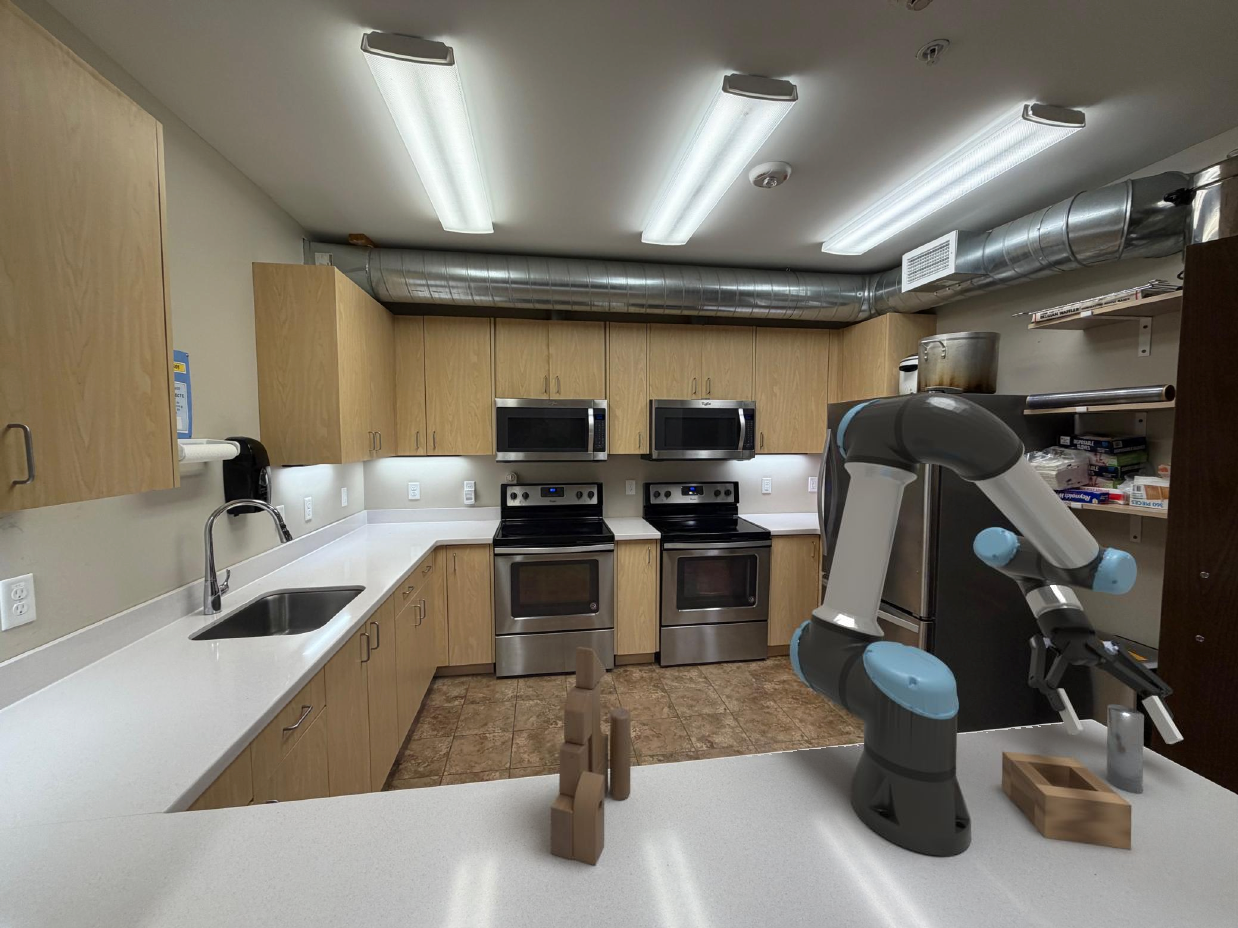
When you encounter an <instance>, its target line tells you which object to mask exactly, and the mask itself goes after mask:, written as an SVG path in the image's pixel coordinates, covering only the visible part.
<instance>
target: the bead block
mask: <svg viewBox="0 0 1238 928" xmlns="http://www.w3.org/2000/svg"><path fill="white" fill-rule="evenodd" d="M1001 754H1002V757H1001V759H1002V760H1001V761H1002V762H1001V763H1002V764H1001V789H1002V791H1003V792H1004V793H1005V794H1006V795H1007V796H1008V798H1010V800H1011V801H1012V802H1013V803H1014V804H1015V805H1016V806H1017V808H1018V809H1019V810H1020V811H1021V812H1022V813H1023V814H1024V816H1026V818H1027V819H1028V820H1029V821H1030V822H1031V824H1032V825H1033V826H1034V827H1035V828H1036V829H1037V831H1039V833H1040V834H1041V835H1042V836H1043V837H1044V838H1045V839H1051V840H1052V839H1053V840H1060V841H1065V842H1066V841H1067V842H1073V843H1074V842H1075V843H1082V844H1088V845H1098V846H1103V847H1110V848H1111V847H1112V848H1116V849H1117V848H1118V849H1123V850H1124V849H1125V850H1131V849H1132V810H1133V809H1132V804H1131V803H1130V802H1128V801H1127V800H1126V799H1125V798H1123V797H1122V796H1121V795H1120V794H1119V793H1118V792H1116V791H1115V790H1114V789H1113V788H1111V786H1109V785H1108V784H1107V783H1105V782H1104V781H1103V780H1102V779H1100V778H1099V777H1098V776H1097V775H1096V774H1095V773H1093V772H1092V771H1091V770H1090V769H1088V768H1087V767H1086V766H1085V765H1083V763H1082V762H1080V761H1078V760H1077V759H1076V758H1069V757H1061V756H1060V757H1058V756H1050V755H1040V754H1032V753H1023V752H1014V751H1013V752H1012V751H1002V753H1001Z"/></svg>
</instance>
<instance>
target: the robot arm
mask: <svg viewBox="0 0 1238 928" xmlns="http://www.w3.org/2000/svg"><path fill="white" fill-rule="evenodd" d="M836 442H837V443H836V444H837V446H839V447H840V448H839V452H840V454H841V455H842V457H843V458H844V459H845V461H844V469H845V470H847V472H848V474H849V475H850V481H849V485H848V489H847V494H846V499H845V503H844V504H845V505H844V508H843V513H842V516H841V517H842V518H841V522H840V526H839V530H838V536H837V540H836V544H835V549H834V553H833V554H834V555H833V558H832V564H831V566H830V567H831V568H830V573H829V576H828V577H829V578H828V582H827V586H826V591H825V595H824V600H823V604H822V605H821V606H819V607H816V608H815V609H813V610H812V612H811V616H810V619H809V620H806V621H804V622H802V623H801V624H800V627H798V628H796V629H795V630H794V633H793V635H792V637H791V639H790V646H789V658H790V663H791V665H792V668H793V671H794V672H795V674H796V676H797V677H798V678H799V679H800V680H801V682H803V683H804V684H805V685H807V687H809V688H810V689H811V690H812V691H813V692H815V693H816V694H818V695H820V696H823V697H824V698H825V699H827V700H829V701H830V702H832V703H833V704H835V705H837V706H838V707H840V709H842V710H844V711H846V712H847V713H849V714H850V715H852V716H853V717H855V718H856V719H858V720H859V721H861V722H862V723H863V750H862V753H861V755H860V757H859V760H858V762H857V765H856V767H855V769H854V771H853V774H852V777H851V781H850V801H851V805H852V807H853V809H854V812H855V813H856V814H857V816H858V817H859V818H860V819H861V820H862V821H863V823H864V824H866V825H867V826H868V827H869V828H870V829H871V830H873V831H874V832H875V833H877V834H878V835H879V836H880V837H883V838H884V839H886V840H888V841H889V842H892V843H894V845H898V846H899V847H902V848H904V849H907V850H911V851H913V852H917V853H921V854H926V855H932V856H941V857H944V856H953V855H957V854H960V853H961V852H964V851H966V850H967V848H969V845H970V844H971V842H972V819H971V815H970V812H969V809H968V806H967V804H966V800H965V798H964V795H963V792H962V788H961V785H960V783H959V780H958V777H957V752H958V751H957V746H958V743H957V742H958V740H957V739H958V735H957V734H958V712H959V709H960V708H959V705H960V703H959V699H958V693H957V682H956V679H955V676H954V674H953V672H952V670H951V669H950V668H949V667H948V665H947V664H945V663H944V662H943V661H942V660H940V659H939V658H937V657H936V656H934V655H933V654H931V653H930V652H927V651H925V650H922V649H920V648H918V647H915V646H912V645H909V646H908V645H905V644H903V643H902V642H901V643H900V642H896V641H895V642H894V641H889V640H888V641H883V640H884V636H885V632H884V631H883V630H882V628H881V626H880V625H879V624H878V621H877V618H878V614H879V610H880V606H881V601H882V600H881V599H882V595H883V590H884V585H885V580H886V575H887V572H888V566H889V562H890V557H891V553H892V547H893V543H894V537H895V533H896V528H897V525H898V519H899V513H900V509H901V505H902V501H903V500H902V499H903V495H904V490H905V487H907V485H908V484H910V483H912V482H913V481H915V480H916V479H917V478H918V472H919V469H920V465H930V464H933V465H939V466H943V467H945V468H949V469H950V470H953V472H954V473H956V474H957V475H958V477H960V478H961V479H963V480H965V481H967V482H973V483H974V484H976V486H977V487H978V488H979V489H980V491H982V492H983V493H984V494H985V495H986V497H987V498H988V499H990V501H991V502H992V503H993V504H994V505H995V506H996V507H997V508H998V509H999V510H1000V511H1001V513H1002V514H1003V515H1004V516H1005V517H1006V518H1007V519H1008V520H1009V521H1010V523H1011V524H1012V525H1014V527H1015V528H1016V529H1017V530H1018V531H1019V532H1020V533H1021V534H1022V536H1019V535H1016V534H1015V533H1014V532H1013V531H1010V530H1007V529H1004V528H1002V527H999V526H998V527H987V528H985V529H984V530H981V532H979V533H978V534H977V536H975V539H974V541H973V545H972V546H973V552H974V554H975V555H976V557H977V558H979V559H980V560H981V561H983V562H984V563H985V564H986V565H987V566H989V567H992V568H993V569H995V570H996V571H999V572H1000V573H1002V574H1004V575H1006V576H1007V577H1009V578H1011V579H1013V580H1014V581H1015V582H1016V583H1017V584H1018V586H1019V588H1020V590H1021V591H1022V594H1023V596H1024V598H1025V599H1026V602H1027V604H1028V605H1029V608H1030V609H1031V612H1032V613H1033V617H1034V618H1036V622H1037V625H1038V626H1039V628H1040V630H1041V632H1042V634H1043V636H1042V635H1041V634H1040V633H1037V634H1034V636H1033V637H1031V638H1030V639H1029V640H1028V643H1029V645H1030V649H1031V658H1030V665H1029V666H1030V667H1029V673H1028V682H1027V683H1028V685H1029V687H1031V688H1032V689H1033V688H1034V689H1039V692H1040V693H1041V694H1043V695H1045V696H1046V698H1047V700H1048V702H1049V703H1050V706H1051V708H1052V709H1053V710H1054V712H1058V713H1059V715H1060V717H1061V719H1062V721H1063V724H1064V726H1065V728H1066V729H1067V732H1068V735H1073V736H1074V735H1077V734H1079V733H1081V732H1083V731H1084V728H1083V726H1082V724H1081V722H1080V720H1079V717H1078V716H1077V713H1076V712H1075V709H1074V708H1073V705H1072V703H1071V701H1070V699H1069V697H1068V695H1067V693H1066V691H1065V689H1064V688H1058V687H1057V686H1058V685H1059V683H1060V681H1061V679H1062V677H1063V675H1064V673H1065V671H1066V668H1067V667H1068V665H1069V663H1070V664H1071V665H1074V666H1079V665H1080V666H1081V665H1083V666H1085V667H1086V666H1087V667H1093V666H1094V667H1096V668H1098V669H1099V670H1102V671H1105V672H1107V673H1108V674H1109V675H1111V676H1112V677H1114V678H1115V679H1116V680H1118V681H1119V682H1121V683H1122V684H1124V685H1125V686H1127V687H1128V688H1130V689H1131V690H1133V691H1134V692H1135V693H1137V694H1138V695H1140V696H1141V697H1143V698H1144V699H1143V700H1141V702H1142V704H1143V707H1144V708H1145V710H1146V711H1147V712H1148V714H1149V716H1150V718H1151V720H1152V721H1153V723H1154V726H1156V728H1157V730H1158V731H1159V733H1160V735H1161V737H1162V738H1163V740H1164V742H1165V743H1166V744H1170V745H1174V744H1175V743H1177V742H1181V741H1183V740H1184V737H1183V736H1182V734H1181V733H1180V731H1179V729H1178V728H1177V726H1176V725H1175V723H1174V721H1173V720H1174V714H1173V712H1172V710H1171V709H1170V707H1169V706H1168V704H1167V703H1166V701H1165V699H1164V698H1165V697H1167V696H1169V695H1172V694H1173V693H1174V690H1173V689H1172V688H1171V687H1170V686H1169V685H1168V684H1167V683H1166V682H1164V680H1162V679H1161V678H1160V677H1159V676H1157V675H1156V674H1155V673H1154V672H1153V671H1152V670H1151V669H1149V668H1148V667H1147V666H1146V665H1145V664H1143V662H1141V661H1140V660H1139V659H1138V658H1137V657H1135V656H1134V655H1133V654H1132V653H1131V652H1129V651H1128V649H1127V648H1126V647H1125V645H1124V644H1123V642H1122V641H1121V639H1120V640H1119V639H1118V638H1114V639H1111V641H1102V640H1100V639H1099V637H1098V636H1097V635H1096V629H1095V627H1094V625H1093V623H1092V622H1091V620H1090V618H1089V616H1088V615H1087V613H1086V612H1085V611H1084V607H1083V605H1082V604H1081V602H1080V600H1079V599H1078V597H1077V595H1076V594H1075V592H1074V591H1073V589H1072V588H1071V587H1075V588H1079V589H1084V590H1090V591H1093V592H1096V593H1097V592H1101V593H1106V594H1111V595H1112V594H1113V595H1123V594H1126V593H1128V592H1129V591H1130V590H1131V589H1132V588H1133V587H1134V584H1135V583H1136V579H1137V575H1138V568H1137V563H1136V560H1135V558H1134V557H1133V556H1132V555H1131V554H1130V553H1128V552H1126V551H1124V550H1119V549H1115V548H1113V547H1108V548H1107V547H1102V546H1101V545H1100V543H1098V541H1097V540H1096V539H1095V538H1094V537H1093V536H1092V534H1091V533H1090V532H1089V531H1088V529H1087V528H1086V527H1085V526H1084V525H1083V524H1082V522H1081V521H1080V520H1079V519H1078V518H1077V516H1076V515H1075V514H1074V513H1073V512H1072V511H1071V510H1070V508H1069V507H1068V506H1067V505H1066V503H1065V502H1064V501H1063V500H1062V499H1061V498H1060V496H1059V495H1057V493H1056V492H1055V491H1054V490H1053V489H1052V487H1051V486H1050V485H1049V484H1048V482H1047V481H1046V480H1045V479H1044V478H1043V476H1041V474H1040V473H1039V472H1038V470H1037V469H1035V467H1034V466H1033V465H1032V463H1030V462H1029V460H1028V459H1027V458H1026V457H1025V456H1024V454H1025V446H1024V443H1023V441H1022V440H1021V439H1020V437H1018V435H1017V434H1016V432H1015V431H1014V430H1013V429H1012V428H1011V427H1009V426H1008V424H1006V423H1005V422H1004V421H1003V420H1001V419H1000V418H999V417H998V416H996V415H995V414H993V413H992V412H991V411H989V410H987V409H986V408H985V407H982V406H980V405H979V404H977V403H975V402H973V401H971V400H968V399H966V398H964V397H961V396H958V395H955V394H950V393H949V394H948V393H943V392H928V393H922V394H916V395H909V396H901V397H893V398H886V399H885V398H881V399H878V398H877V399H874V400H873V399H872V400H871V401H868V402H863V403H860V404H857V405H856V406H854V407H853V408H851V409H850V410H849V411H847V412H846V413H845V415H844V416H843V418H842V419H841V421H840V423H839V425H838V429H837V435H836ZM1048 647H1049V648H1050V649H1051V650H1052V651H1053V652H1055V653H1056V657H1055V658H1054V661H1053V664H1052V665H1051V668H1050V670H1049V672H1048V674H1047V675H1046V677H1045V664H1046V656H1047V648H1048ZM1102 659H1103V660H1104V661H1103V660H1102ZM1044 677H1045V678H1044Z"/></svg>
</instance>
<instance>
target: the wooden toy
mask: <svg viewBox="0 0 1238 928" xmlns="http://www.w3.org/2000/svg"><path fill="white" fill-rule="evenodd" d="M605 674H607V670H606V668H605V667H604V665H603V664H602V662H601V660H600V659H599V657H598V656H597V655H596V653H595V651H594V649H592V648H591V647H590V648H589V647H583V646H577V647H576V649H575V685H574V686H572V688H570V690H569V692H568V695H567V697H566V702H565V705H564V708H563V710H564V711H563V740H564V741H563V743H562V744H561V746H559V748H558V749H559V751H558V752H559V755H558V756H559V757H558V759H559V760H558V761H559V764H558V766H559V767H558V769H559V776H558V778H559V779H558V781H559V782H558V784H559V785H558V786H559V788H558V790H559V791H558V792H559V794H558V795H557V796H556V798H555V800H553V803H552V804H551V806H550V854H551V855H553V856H557V857H560V858H563V859H566V860H570V861H571V860H576V861H579V862H583V863H586V864H587V865H592V866H596V865H597V863H598V861H599V860H600V857H601V854H602V853H603V851H604V848H605V798H606V796H607V794H608V792H609V793H610V796H611V797H612V798H613V799H615V800H618V801H622V800H626V799H627V798H628V797H630V794H631V756H632V755H631V736H632V735H631V732H632V730H631V725H632V724H631V723H632V721H631V717H632V716H631V715H632V714H631V712H630V711H629V710H628V708H622V707H620V708H619V707H616V708H614V709H612V710H611V711H610V714H609V734H608V733H606V732H605V733H604V732H602V728H601V705H602V704H601V703H602V702H601V700H602V698H601V687H602V685H601V679H602V678H603V677H604V676H605Z"/></svg>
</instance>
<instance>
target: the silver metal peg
mask: <svg viewBox="0 0 1238 928" xmlns="http://www.w3.org/2000/svg"><path fill="white" fill-rule="evenodd" d="M1106 723H1107V724H1106V725H1107V733H1106V737H1107V738H1106V781H1107V782H1108V783H1109V784H1110V785H1112V786H1114V787H1115V788H1117V789H1119V790H1121V789H1122V791H1124V790H1125V791H1124V792H1127V793H1132V794H1142V793H1143V792H1144V788H1143V787H1144V742H1145V739H1144V734H1145V733H1144V731H1145V729H1144V728H1145V727H1144V726H1145V725H1144V724H1145V715H1144V714H1143V713H1142V712H1141V711H1139V710H1138V709H1134V708H1132V707H1129V706H1125V705H1121V704H1108V705H1107V722H1106Z"/></svg>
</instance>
